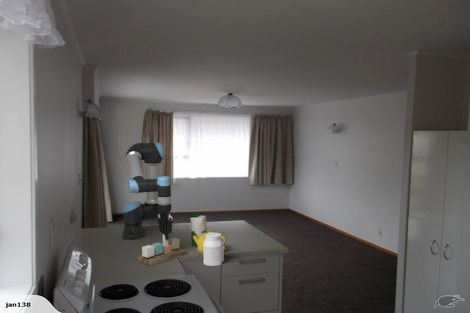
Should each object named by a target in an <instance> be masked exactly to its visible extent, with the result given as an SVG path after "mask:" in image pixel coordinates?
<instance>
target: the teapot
mask: <svg viewBox="0 0 470 313" xmlns="http://www.w3.org/2000/svg"><path fill="white" fill-rule="evenodd" d="M208 233H214V232H213V231H207V232H206V233H204V234H202V235H201V236H199V238H198V237H197V236H193V238H194V240H195V242H196V244H197V245H198V247H196V248H197V253H198V254H199V253H203V243H204V241H205V239H206V234H208ZM220 234H221V239H222V241H223V242H224V245H225V244H226V241H227V240H226V238H225V236H223V234H222V233H220ZM225 250H226V247H225V246H224V251H225Z"/></svg>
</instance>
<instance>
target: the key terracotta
mask: <svg viewBox="0 0 470 313" xmlns="http://www.w3.org/2000/svg"><path fill="white" fill-rule="evenodd" d="M169 252H172V245H169V244H168V245H166V246H163V253H165V254H166V253H169Z"/></svg>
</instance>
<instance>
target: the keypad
mask: <svg viewBox="0 0 470 313" xmlns="http://www.w3.org/2000/svg"><path fill="white" fill-rule="evenodd" d="M186 253H187V254H188V251H187V249H185V248H181V247H180V248H177V249H174V250H173V249H172V252H169V253H166V254H165V253H161V254H158V255H155V254H154V256H151V257H148V258H147V257H144V256H142V253H141V254H138V255H135V261H136V262H137V263H142V264H143V265H146V266H149V267H153V266H156V265H159V264H162V263H164V262H168V261H171V260H173V258H174V259H176V258H175V257H177V256H180V255H183V254H186ZM187 254H186V255H187ZM183 256H184V255H183ZM180 257H181V256H180ZM177 258H178V257H177Z"/></svg>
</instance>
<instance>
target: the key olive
mask: <svg viewBox="0 0 470 313" xmlns="http://www.w3.org/2000/svg"><path fill="white" fill-rule="evenodd" d="M180 243H181V242H180V238H176V237H173V238H170V239H169V240H168V244H169V245H172V249H173V250H174V249H177V248H181V247H180V246H181V245H180Z"/></svg>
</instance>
